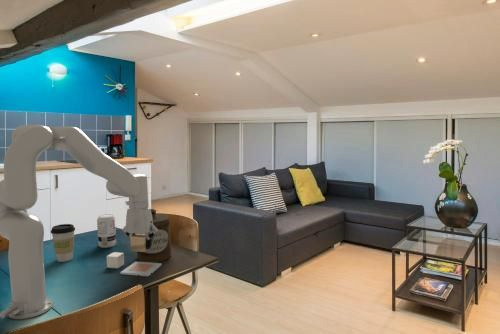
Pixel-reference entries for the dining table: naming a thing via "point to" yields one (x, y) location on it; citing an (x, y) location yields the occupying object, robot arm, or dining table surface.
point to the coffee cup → (63, 241)
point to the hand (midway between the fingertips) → (141, 247)
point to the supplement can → (106, 231)
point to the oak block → (138, 242)
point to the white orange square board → (141, 268)
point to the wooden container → (158, 240)
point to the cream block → (115, 260)
